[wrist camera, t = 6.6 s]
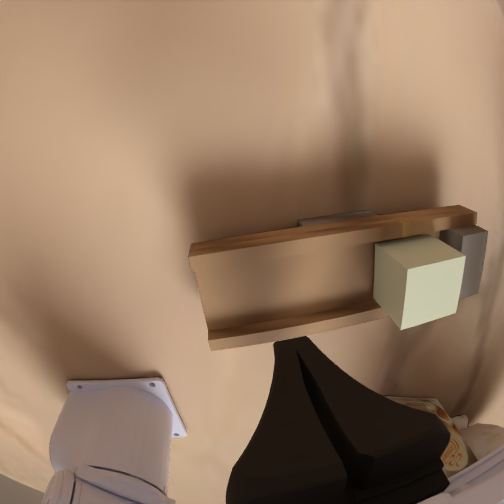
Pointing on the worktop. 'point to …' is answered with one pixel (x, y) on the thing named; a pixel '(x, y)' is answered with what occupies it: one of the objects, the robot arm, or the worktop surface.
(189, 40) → the worktop surface
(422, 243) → the block
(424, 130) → the worktop surface
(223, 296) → the beam
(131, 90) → the worktop surface
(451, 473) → the coffee box
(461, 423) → the ceramic pitcher
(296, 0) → the worktop surface
